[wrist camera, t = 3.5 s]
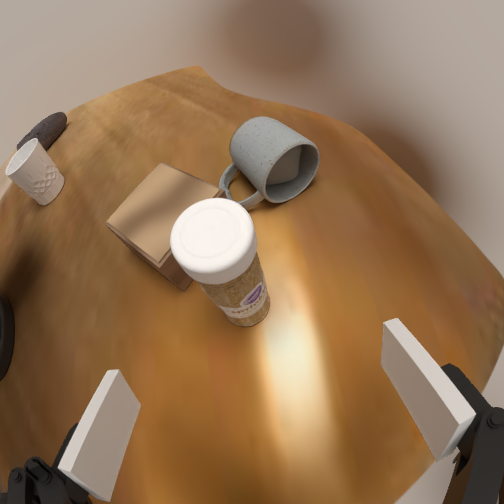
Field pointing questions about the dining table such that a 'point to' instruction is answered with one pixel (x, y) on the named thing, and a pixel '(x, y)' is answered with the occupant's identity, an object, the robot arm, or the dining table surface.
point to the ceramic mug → (271, 160)
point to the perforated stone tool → (46, 130)
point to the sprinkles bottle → (222, 258)
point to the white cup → (35, 172)
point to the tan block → (159, 217)
